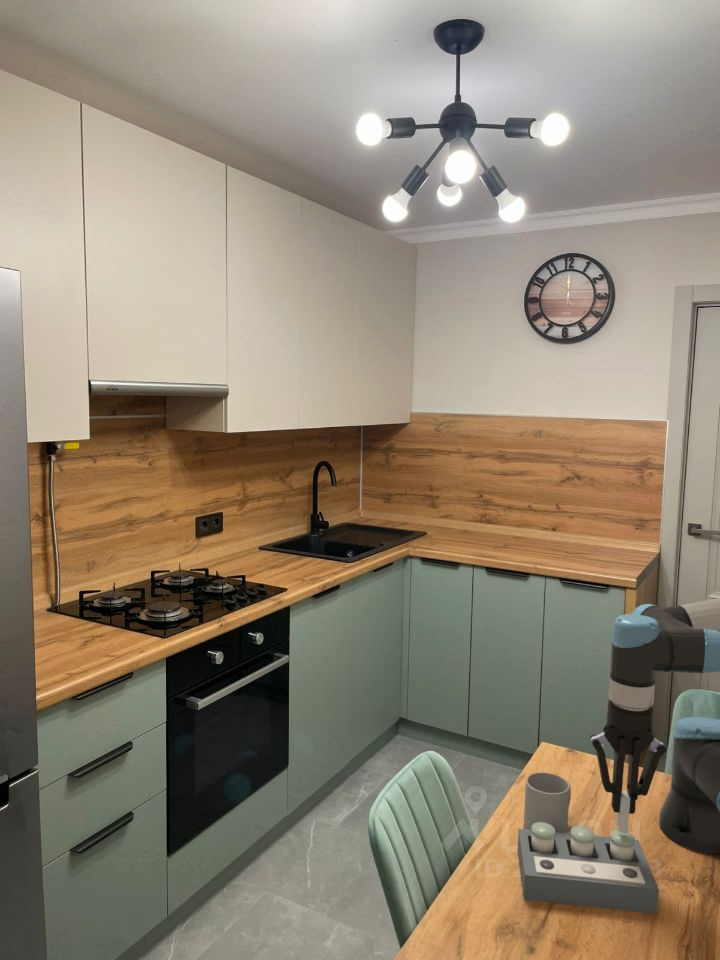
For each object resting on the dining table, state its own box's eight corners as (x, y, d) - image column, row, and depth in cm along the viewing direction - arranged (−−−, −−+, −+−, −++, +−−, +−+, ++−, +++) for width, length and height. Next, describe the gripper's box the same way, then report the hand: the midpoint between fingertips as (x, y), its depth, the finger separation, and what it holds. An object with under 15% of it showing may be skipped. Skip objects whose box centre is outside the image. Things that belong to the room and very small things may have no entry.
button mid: (591, 849, 134) (592, 827, 134) (595, 863, 130) (596, 840, 130) (567, 846, 135) (569, 824, 135) (571, 860, 131) (572, 838, 130)
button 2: (630, 852, 133) (631, 830, 133) (636, 867, 129) (637, 844, 129) (606, 850, 134) (608, 828, 134) (611, 864, 130) (612, 841, 129)
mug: (551, 853, 138) (553, 799, 137) (514, 833, 145) (516, 781, 143) (585, 830, 146) (588, 778, 145) (549, 812, 152) (551, 762, 151)
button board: (637, 862, 136) (638, 840, 135) (657, 914, 122) (658, 889, 122) (517, 850, 139) (518, 828, 138) (523, 899, 125) (525, 874, 125)
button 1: (552, 845, 135) (553, 823, 135) (555, 858, 131) (556, 836, 131) (529, 842, 136) (530, 821, 135) (531, 856, 132) (532, 834, 131)
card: (638, 868, 127) (638, 865, 127) (645, 884, 123) (645, 881, 123) (533, 857, 129) (533, 855, 129) (536, 873, 125) (536, 870, 125)
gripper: (663, 697, 132) (653, 820, 134) (588, 691, 133) (581, 813, 136) (675, 714, 124) (665, 844, 127) (596, 708, 126) (588, 836, 128)
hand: (621, 828), depth 131 cm, fingers closed
